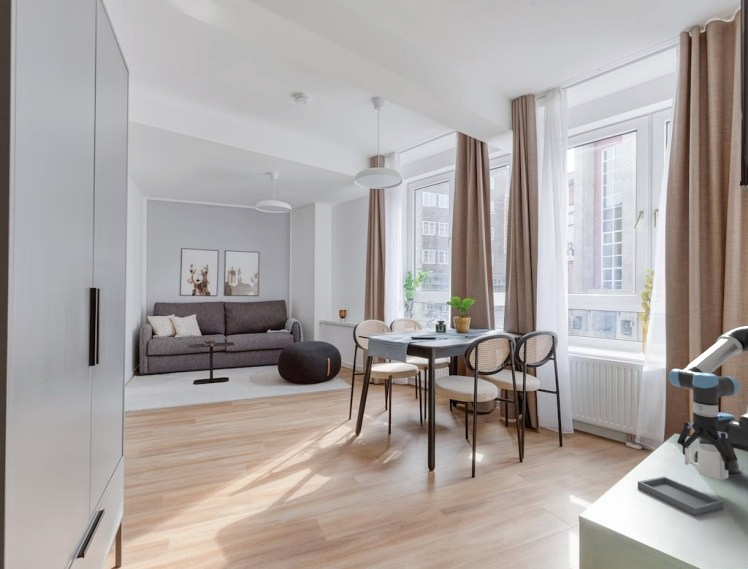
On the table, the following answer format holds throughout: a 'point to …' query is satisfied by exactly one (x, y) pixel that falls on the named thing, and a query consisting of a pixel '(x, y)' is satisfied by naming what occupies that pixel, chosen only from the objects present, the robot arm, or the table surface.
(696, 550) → the table surface
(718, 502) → the grey tray
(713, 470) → the cup
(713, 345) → the robot arm
